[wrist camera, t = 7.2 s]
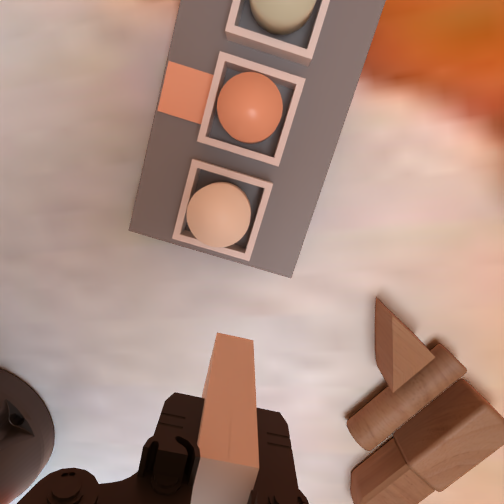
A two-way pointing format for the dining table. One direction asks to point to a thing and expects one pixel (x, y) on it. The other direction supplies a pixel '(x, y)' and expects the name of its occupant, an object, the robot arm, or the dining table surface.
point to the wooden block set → (419, 420)
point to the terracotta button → (249, 107)
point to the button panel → (263, 153)
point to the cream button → (219, 214)
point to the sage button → (282, 14)
